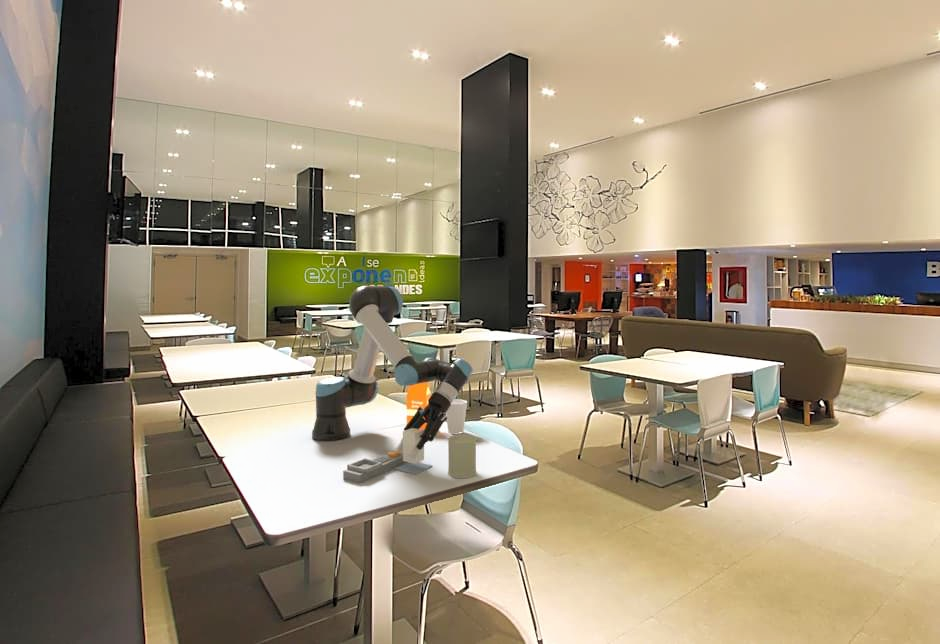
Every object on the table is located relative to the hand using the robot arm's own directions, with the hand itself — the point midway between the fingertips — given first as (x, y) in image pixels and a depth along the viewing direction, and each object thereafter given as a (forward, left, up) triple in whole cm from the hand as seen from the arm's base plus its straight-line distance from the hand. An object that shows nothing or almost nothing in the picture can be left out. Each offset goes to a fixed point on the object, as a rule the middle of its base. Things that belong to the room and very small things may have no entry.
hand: (404, 454), depth 166 cm
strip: (-8, -4, -6) cm, 11 cm away
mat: (+1, +3, -6) cm, 7 cm away
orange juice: (-30, +46, -6) cm, 55 cm away
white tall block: (+1, +3, -3) cm, 5 cm away
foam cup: (-12, +48, -6) cm, 50 cm away
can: (+17, +8, -6) cm, 20 cm away
